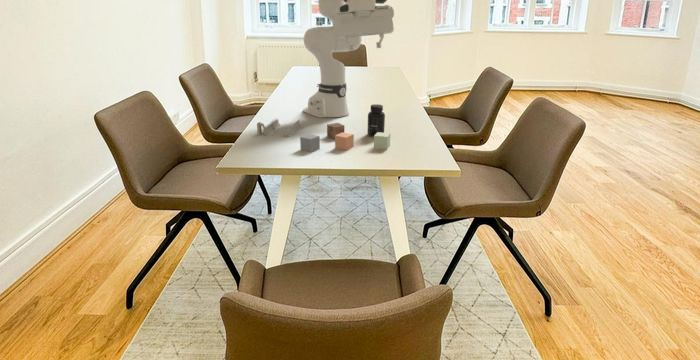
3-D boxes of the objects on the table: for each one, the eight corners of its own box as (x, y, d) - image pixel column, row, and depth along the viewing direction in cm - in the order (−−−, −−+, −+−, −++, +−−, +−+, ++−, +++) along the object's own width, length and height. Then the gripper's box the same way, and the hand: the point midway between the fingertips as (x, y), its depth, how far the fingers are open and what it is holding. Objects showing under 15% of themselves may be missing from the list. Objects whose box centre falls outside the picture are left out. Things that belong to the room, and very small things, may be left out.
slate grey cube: (300, 149, 196) (300, 136, 194) (309, 146, 200) (309, 133, 198) (310, 152, 193) (310, 139, 191) (319, 149, 197) (319, 136, 195)
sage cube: (373, 148, 198) (374, 135, 196) (377, 144, 202) (377, 132, 200) (387, 149, 196) (387, 136, 194) (390, 145, 201) (390, 133, 199)
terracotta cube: (335, 148, 198) (335, 135, 196) (342, 145, 202) (342, 132, 200) (346, 150, 195) (346, 137, 193) (353, 147, 199) (353, 134, 197)
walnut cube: (327, 136, 212) (326, 124, 210) (337, 134, 215) (337, 122, 213) (333, 139, 208) (333, 127, 206) (344, 137, 211) (344, 125, 209)
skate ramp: (289, 138, 212) (288, 125, 210) (257, 135, 214) (256, 123, 212) (300, 128, 225) (299, 116, 223) (270, 126, 228) (269, 114, 226)
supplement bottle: (370, 137, 210) (370, 108, 206) (365, 133, 216) (365, 104, 212) (386, 136, 212) (387, 106, 208) (381, 131, 218) (381, 103, 214)
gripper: (393, 6, 181) (396, 47, 183) (334, 11, 184) (337, 52, 186) (392, 2, 175) (395, 45, 177) (331, 8, 178) (334, 50, 179)
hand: (365, 49), depth 181 cm, fingers open, 8 cm apart
